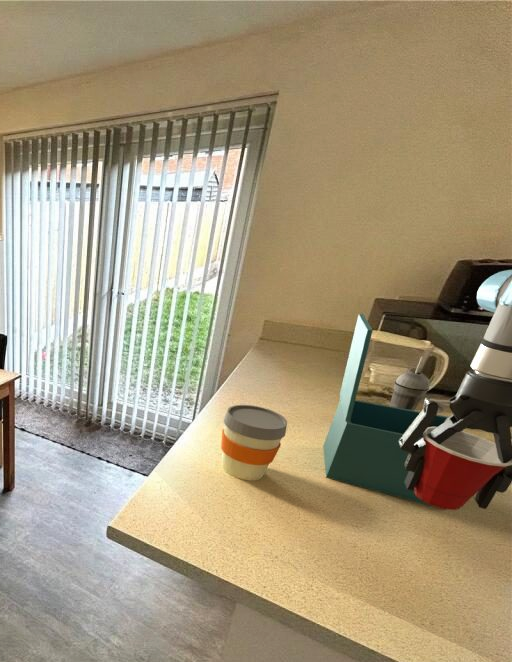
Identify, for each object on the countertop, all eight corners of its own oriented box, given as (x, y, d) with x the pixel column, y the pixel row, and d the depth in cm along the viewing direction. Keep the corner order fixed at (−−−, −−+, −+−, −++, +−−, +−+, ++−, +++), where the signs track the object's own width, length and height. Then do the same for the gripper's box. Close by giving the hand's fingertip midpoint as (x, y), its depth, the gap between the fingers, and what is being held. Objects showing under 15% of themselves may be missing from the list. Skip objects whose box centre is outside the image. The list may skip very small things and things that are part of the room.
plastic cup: (489, 531, 62) (527, 469, 58) (396, 502, 69) (423, 444, 64) (479, 497, 70) (512, 439, 65) (396, 473, 76) (420, 419, 72)
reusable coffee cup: (202, 459, 102) (214, 407, 96) (243, 452, 104) (256, 401, 98) (240, 489, 90) (255, 432, 84) (284, 480, 93) (302, 425, 87)
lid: (363, 313, 92) (358, 313, 93) (372, 329, 80) (367, 329, 81) (343, 395, 100) (339, 395, 100) (349, 422, 87) (345, 421, 88)
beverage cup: (382, 421, 118) (408, 359, 110) (378, 412, 123) (403, 352, 115) (415, 428, 114) (445, 364, 106) (410, 418, 119) (438, 356, 111)
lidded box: (426, 471, 95) (453, 417, 89) (445, 509, 83) (478, 450, 77) (323, 446, 106) (341, 397, 100) (326, 477, 94) (346, 423, 88)
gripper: (603, 380, 57) (525, 504, 66) (406, 356, 68) (362, 465, 77) (636, 399, 51) (546, 532, 60) (415, 370, 63) (367, 485, 72)
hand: (443, 494), depth 69 cm, fingers closed on plastic cup, 8 cm apart
